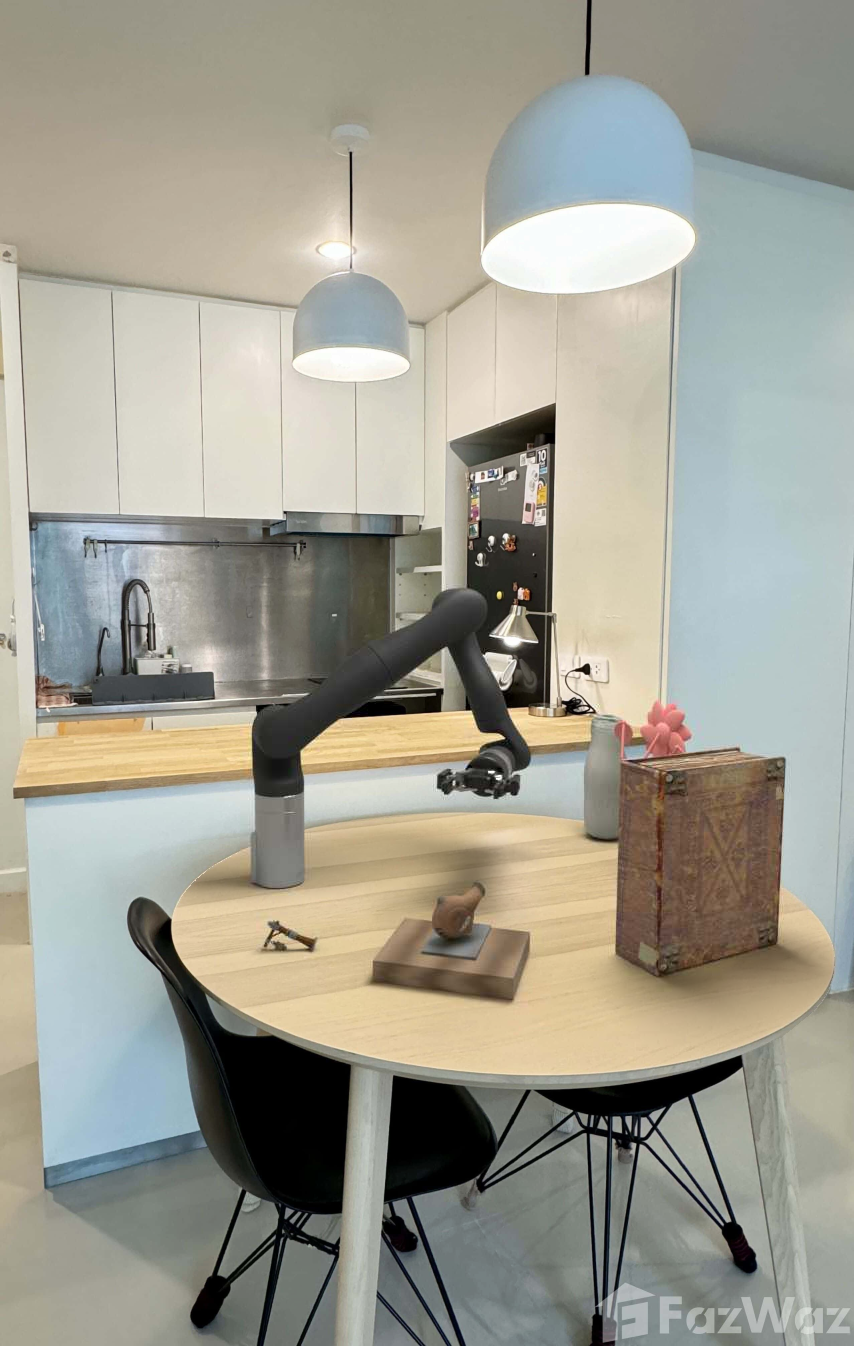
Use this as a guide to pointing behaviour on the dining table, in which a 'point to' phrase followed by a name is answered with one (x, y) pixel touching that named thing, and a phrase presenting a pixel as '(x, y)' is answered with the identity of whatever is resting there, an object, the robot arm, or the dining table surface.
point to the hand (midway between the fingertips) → (470, 791)
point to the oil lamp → (457, 913)
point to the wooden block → (454, 959)
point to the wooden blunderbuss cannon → (291, 934)
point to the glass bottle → (603, 779)
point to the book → (698, 857)
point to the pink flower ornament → (658, 731)
